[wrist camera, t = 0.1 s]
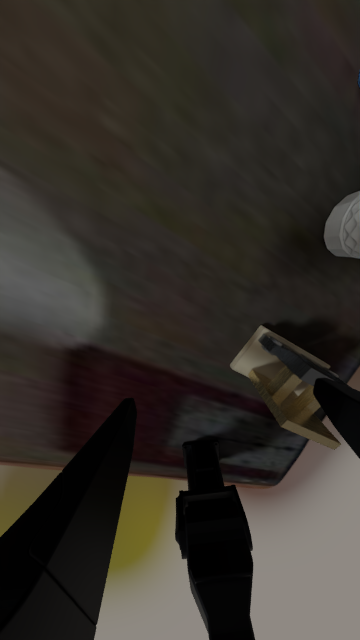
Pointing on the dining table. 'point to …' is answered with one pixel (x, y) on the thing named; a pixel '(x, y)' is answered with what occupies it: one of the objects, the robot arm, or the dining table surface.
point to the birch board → (267, 358)
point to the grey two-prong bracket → (297, 361)
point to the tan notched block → (293, 406)
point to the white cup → (344, 228)
